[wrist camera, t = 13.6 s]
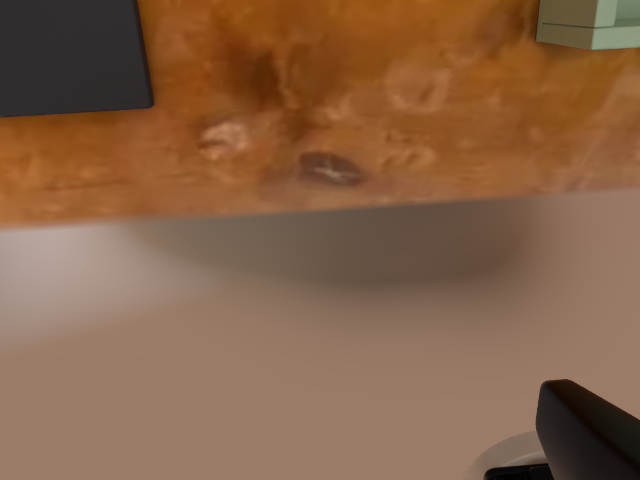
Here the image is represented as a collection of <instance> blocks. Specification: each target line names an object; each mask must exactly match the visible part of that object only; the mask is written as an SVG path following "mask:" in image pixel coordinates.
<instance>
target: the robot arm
mask: <svg viewBox="0 0 640 480" xmlns="http://www.w3.org/2000/svg"><path fill="white" fill-rule="evenodd" d="M536 431H537V435H538V438H539V441H540V443H541V446H542V448H543V451H544V454H545V456H546V459H547V462H548V463H543V464H531V465H519V466H507V467H496V468H491V469H489V470H487V471H486V472H485V474H484V478H483V480H640V420H639V419H637V418H635V417H634V416H632V415H630V414H628V413H627V412H625V411H623V410H621V409H620V408H618V407H616V406H615V405H613V404H611V403H609V402H608V401H606V400H604V399H603V398H601V397H599V396H597V395H596V394H594V393H592V392H590V391H589V390H587V389H585V388H584V387H582V386H580V385H578V384H577V383H575V382H573V381H571V380H568V379H561V380H549V381H545V382H543V383H542V385H541V388H540V394H539V400H538V408H537V415H536ZM495 478H496V479H495Z"/></svg>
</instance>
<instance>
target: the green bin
mask: <svg viewBox="0 0 640 480" xmlns="http://www.w3.org/2000/svg"><path fill="white" fill-rule="evenodd" d="M536 41H537V42H545V43H551V44H557V45H563V46H569V47H575V48H582V49H588V50H605V49H622V48H639V47H640V0H540V5H539V15H538V25H537V35H536Z"/></svg>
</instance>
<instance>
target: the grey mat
mask: <svg viewBox="0 0 640 480" xmlns="http://www.w3.org/2000/svg"><path fill="white" fill-rule="evenodd" d="M153 105H154V101H153V95H152V89H151V83H150V77H149V71H148V65H147V59H146V53H145V47H144V41H143V36H142V30H141V24H140V18H139V12H138V6H137V0H0V117H12V116H29V115H46V114H62V113H79V112H95V111H112V110H128V109H145V108H151V107H152V106H153Z"/></svg>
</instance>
